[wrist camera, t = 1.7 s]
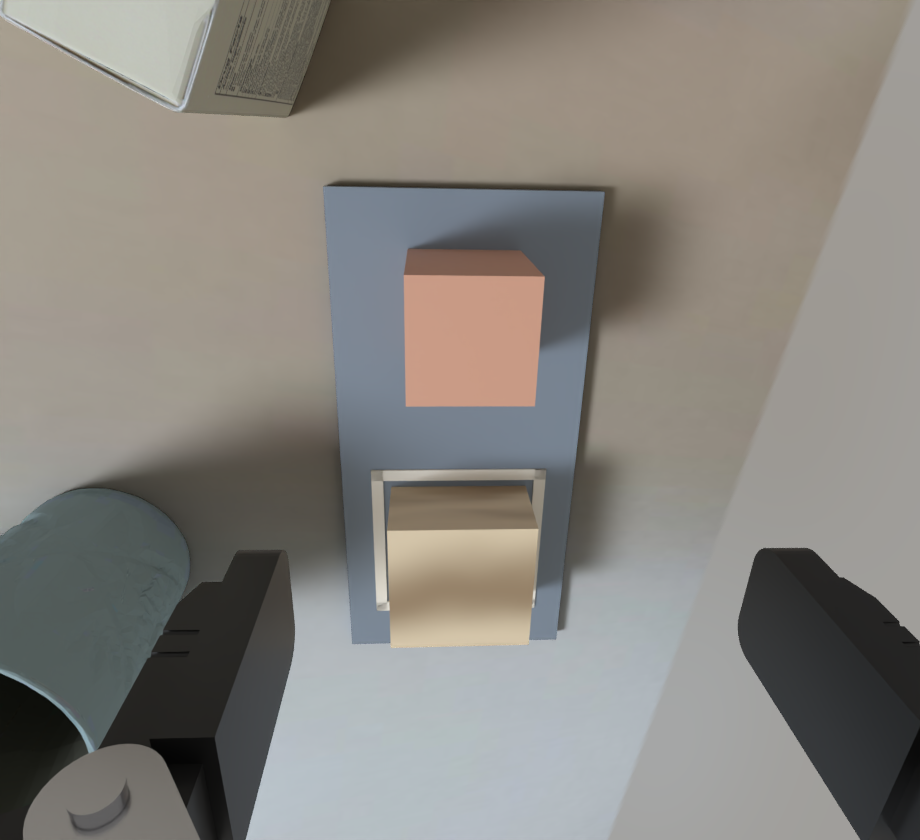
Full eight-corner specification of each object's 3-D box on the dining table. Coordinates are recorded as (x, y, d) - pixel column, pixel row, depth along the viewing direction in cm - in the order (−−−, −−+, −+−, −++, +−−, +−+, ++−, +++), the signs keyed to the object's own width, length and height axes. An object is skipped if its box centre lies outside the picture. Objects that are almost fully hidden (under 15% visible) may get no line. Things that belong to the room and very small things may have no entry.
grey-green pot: (235, 596, 35) (150, 801, 24) (77, 649, 36) (-74, 869, 25) (138, 447, 31) (-17, 611, 20) (-37, 510, 32) (-277, 701, 21)
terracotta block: (407, 248, 27) (403, 274, 22) (520, 250, 28) (544, 276, 22) (408, 357, 29) (405, 406, 24) (514, 357, 30) (534, 406, 24)
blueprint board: (325, 185, 27) (322, 186, 26) (601, 191, 27) (605, 192, 27) (353, 636, 37) (352, 645, 36) (554, 631, 37) (556, 640, 37)
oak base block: (391, 486, 32) (387, 530, 28) (525, 485, 32) (538, 528, 29) (394, 595, 35) (390, 647, 31) (517, 592, 35) (528, 644, 32)
